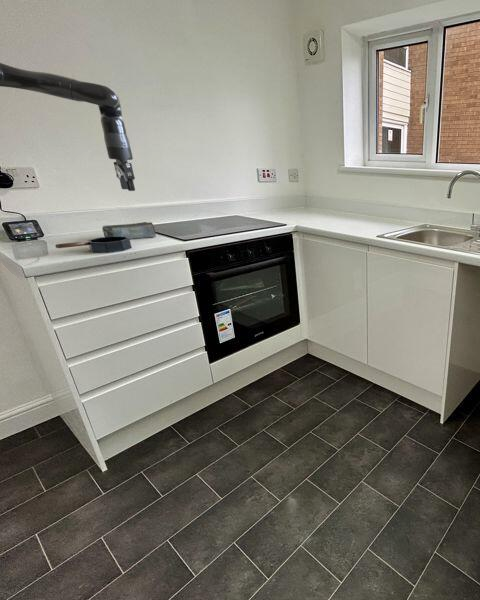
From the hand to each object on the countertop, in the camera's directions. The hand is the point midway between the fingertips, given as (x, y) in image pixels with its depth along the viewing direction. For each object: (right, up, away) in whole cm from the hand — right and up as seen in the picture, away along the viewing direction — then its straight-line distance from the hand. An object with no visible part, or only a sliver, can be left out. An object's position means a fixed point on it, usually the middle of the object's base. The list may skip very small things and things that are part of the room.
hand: (128, 190), depth 141 cm
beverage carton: (-16, -16, +23) cm, 32 cm away
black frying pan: (-12, -25, -1) cm, 28 cm away
